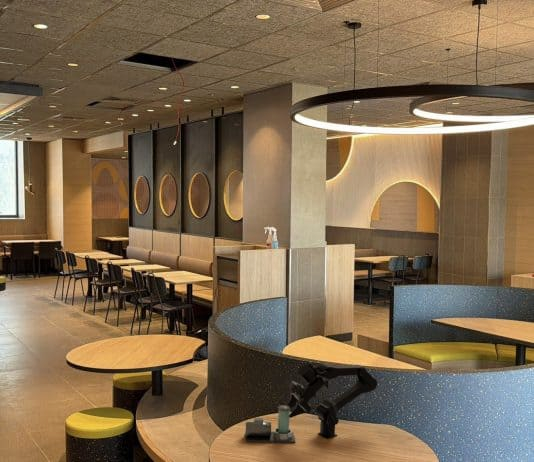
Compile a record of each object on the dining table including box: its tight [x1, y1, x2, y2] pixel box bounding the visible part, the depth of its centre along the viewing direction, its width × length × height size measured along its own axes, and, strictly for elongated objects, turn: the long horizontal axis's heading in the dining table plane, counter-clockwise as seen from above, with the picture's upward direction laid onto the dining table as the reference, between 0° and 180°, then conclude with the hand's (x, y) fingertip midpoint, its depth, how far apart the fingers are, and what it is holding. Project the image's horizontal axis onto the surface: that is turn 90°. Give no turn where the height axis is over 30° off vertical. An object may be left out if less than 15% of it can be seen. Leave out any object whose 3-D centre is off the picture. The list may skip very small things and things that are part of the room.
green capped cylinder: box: [277, 404, 291, 434], centre depth 262 cm, size 5×5×13 cm
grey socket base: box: [244, 417, 296, 444], centre depth 262 cm, size 22×10×8 cm, turn 93°
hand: (287, 413), depth 262 cm, fingers open, 9 cm apart
